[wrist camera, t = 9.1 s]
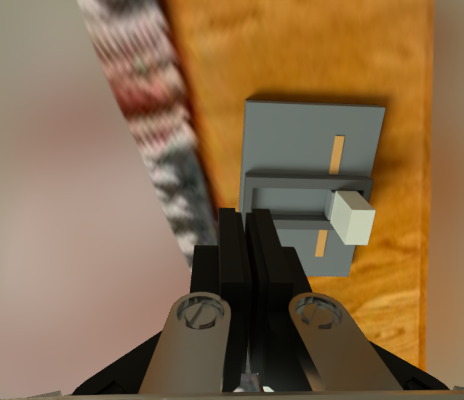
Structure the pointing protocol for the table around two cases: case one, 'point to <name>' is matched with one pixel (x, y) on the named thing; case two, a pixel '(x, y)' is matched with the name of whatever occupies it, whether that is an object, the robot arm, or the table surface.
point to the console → (307, 171)
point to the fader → (350, 216)
